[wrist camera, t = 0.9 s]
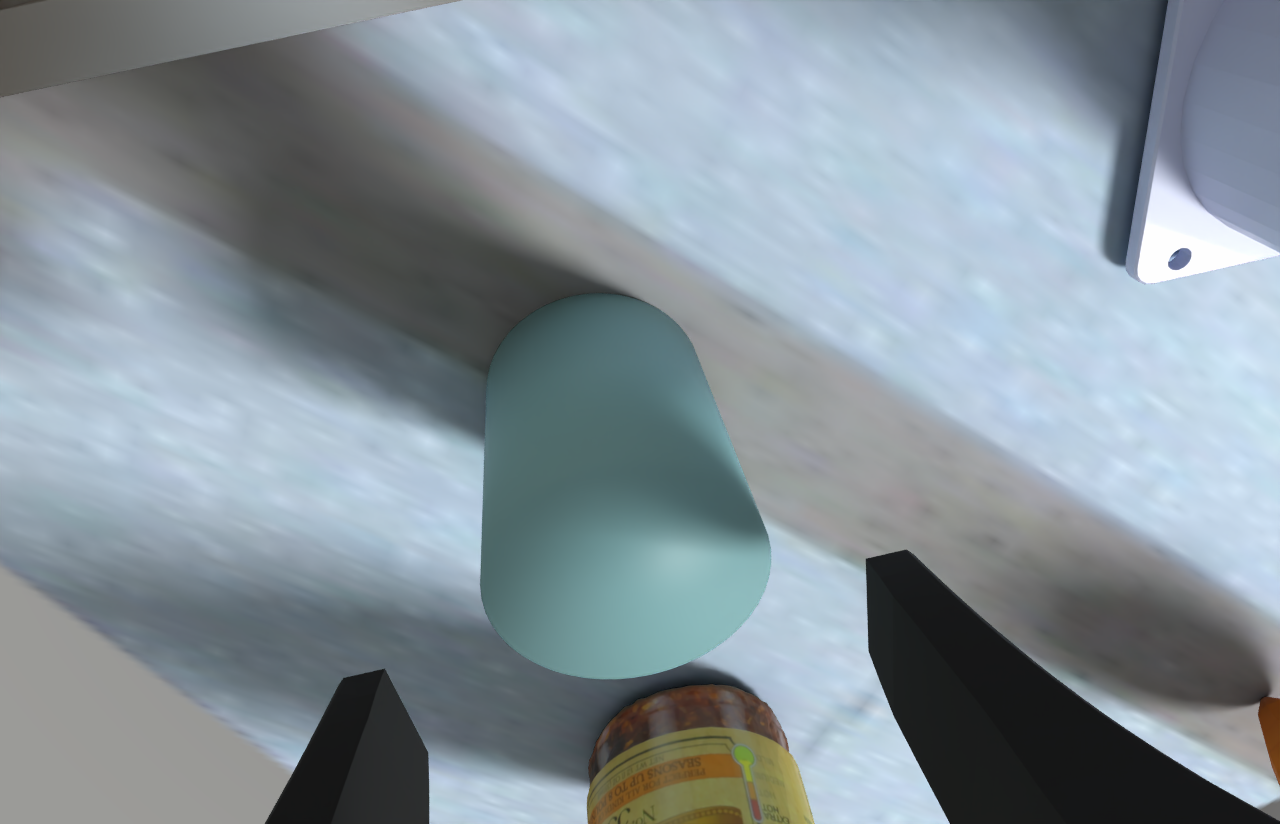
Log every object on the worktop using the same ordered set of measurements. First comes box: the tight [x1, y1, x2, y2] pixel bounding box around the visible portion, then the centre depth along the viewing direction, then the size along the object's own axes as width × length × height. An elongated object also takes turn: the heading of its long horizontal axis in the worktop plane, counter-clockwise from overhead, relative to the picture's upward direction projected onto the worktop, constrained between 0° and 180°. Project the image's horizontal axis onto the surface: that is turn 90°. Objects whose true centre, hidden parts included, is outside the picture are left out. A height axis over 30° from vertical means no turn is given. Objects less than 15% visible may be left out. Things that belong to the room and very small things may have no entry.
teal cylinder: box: [480, 293, 771, 679], centre depth 16 cm, size 5×5×6 cm
